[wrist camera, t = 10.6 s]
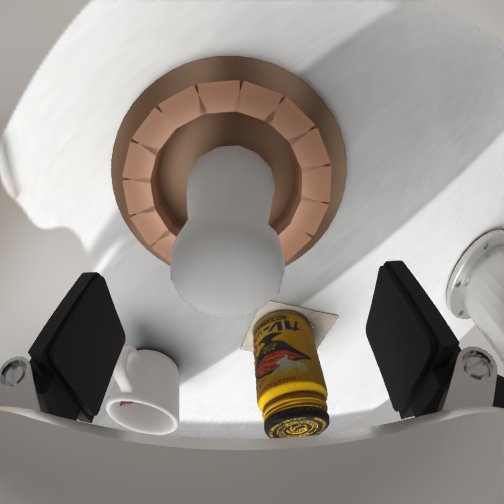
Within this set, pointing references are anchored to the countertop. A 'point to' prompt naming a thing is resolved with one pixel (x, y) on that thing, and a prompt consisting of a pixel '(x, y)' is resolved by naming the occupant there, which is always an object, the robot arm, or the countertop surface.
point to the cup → (145, 392)
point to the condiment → (289, 369)
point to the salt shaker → (228, 236)
